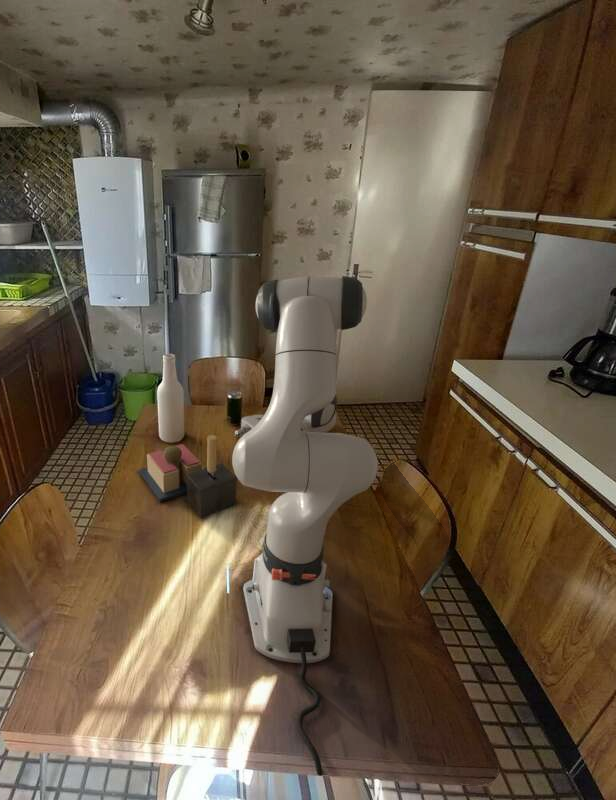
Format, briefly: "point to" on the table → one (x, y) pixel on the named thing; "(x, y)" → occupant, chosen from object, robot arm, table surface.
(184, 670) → the table surface
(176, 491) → the twin pink pillar stand
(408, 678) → the table surface
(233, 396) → the beer can
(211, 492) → the knife holder
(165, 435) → the alcohol
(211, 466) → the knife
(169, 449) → the brown piece
